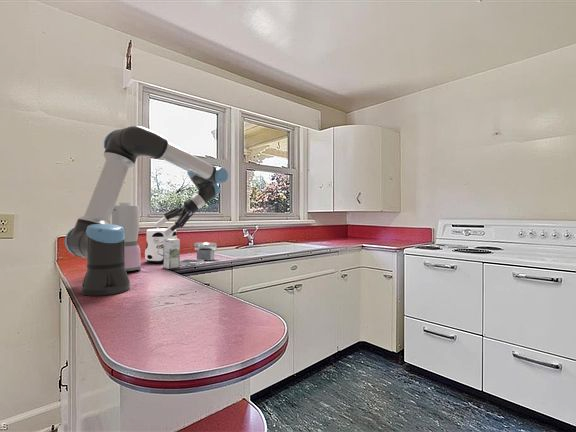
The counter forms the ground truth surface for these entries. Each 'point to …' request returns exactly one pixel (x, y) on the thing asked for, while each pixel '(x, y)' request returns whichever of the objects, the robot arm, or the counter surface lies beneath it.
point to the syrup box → (171, 253)
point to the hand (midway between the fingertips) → (160, 230)
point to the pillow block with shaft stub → (205, 250)
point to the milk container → (156, 244)
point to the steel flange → (187, 262)
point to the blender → (128, 233)
